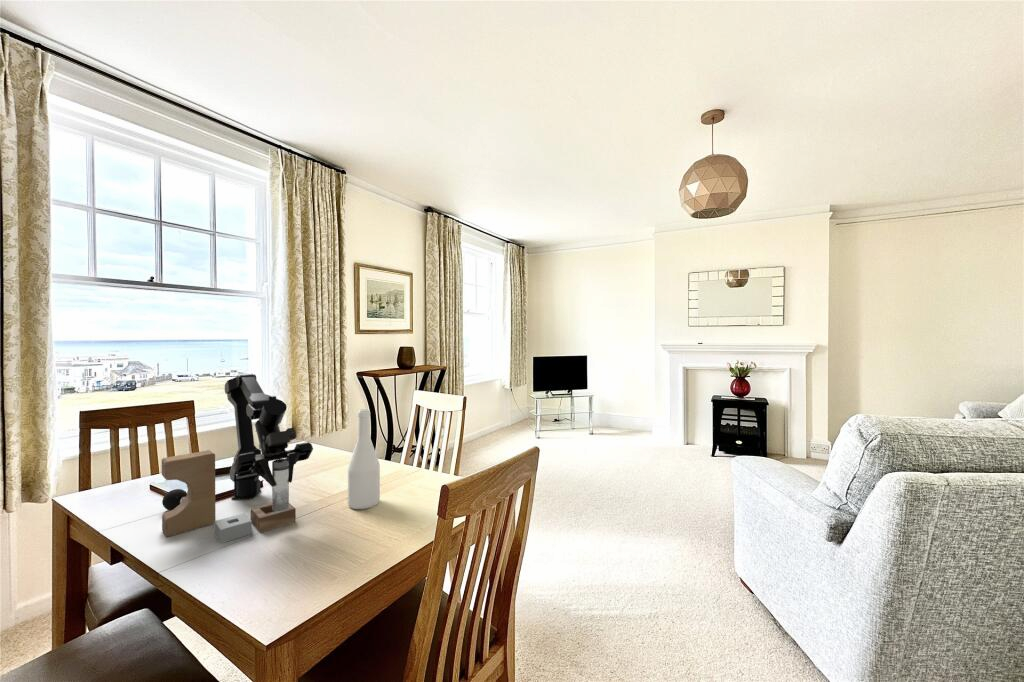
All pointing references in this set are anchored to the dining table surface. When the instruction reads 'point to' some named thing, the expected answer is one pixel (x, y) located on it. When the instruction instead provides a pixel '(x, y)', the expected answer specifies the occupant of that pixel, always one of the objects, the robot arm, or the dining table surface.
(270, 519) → the walnut block
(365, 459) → the wine bottle
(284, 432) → the robot arm
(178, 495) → the billiard ball
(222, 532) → the slate block
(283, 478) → the cylinder
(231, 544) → the dining table surface
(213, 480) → the decorative block
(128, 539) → the dining table surface
